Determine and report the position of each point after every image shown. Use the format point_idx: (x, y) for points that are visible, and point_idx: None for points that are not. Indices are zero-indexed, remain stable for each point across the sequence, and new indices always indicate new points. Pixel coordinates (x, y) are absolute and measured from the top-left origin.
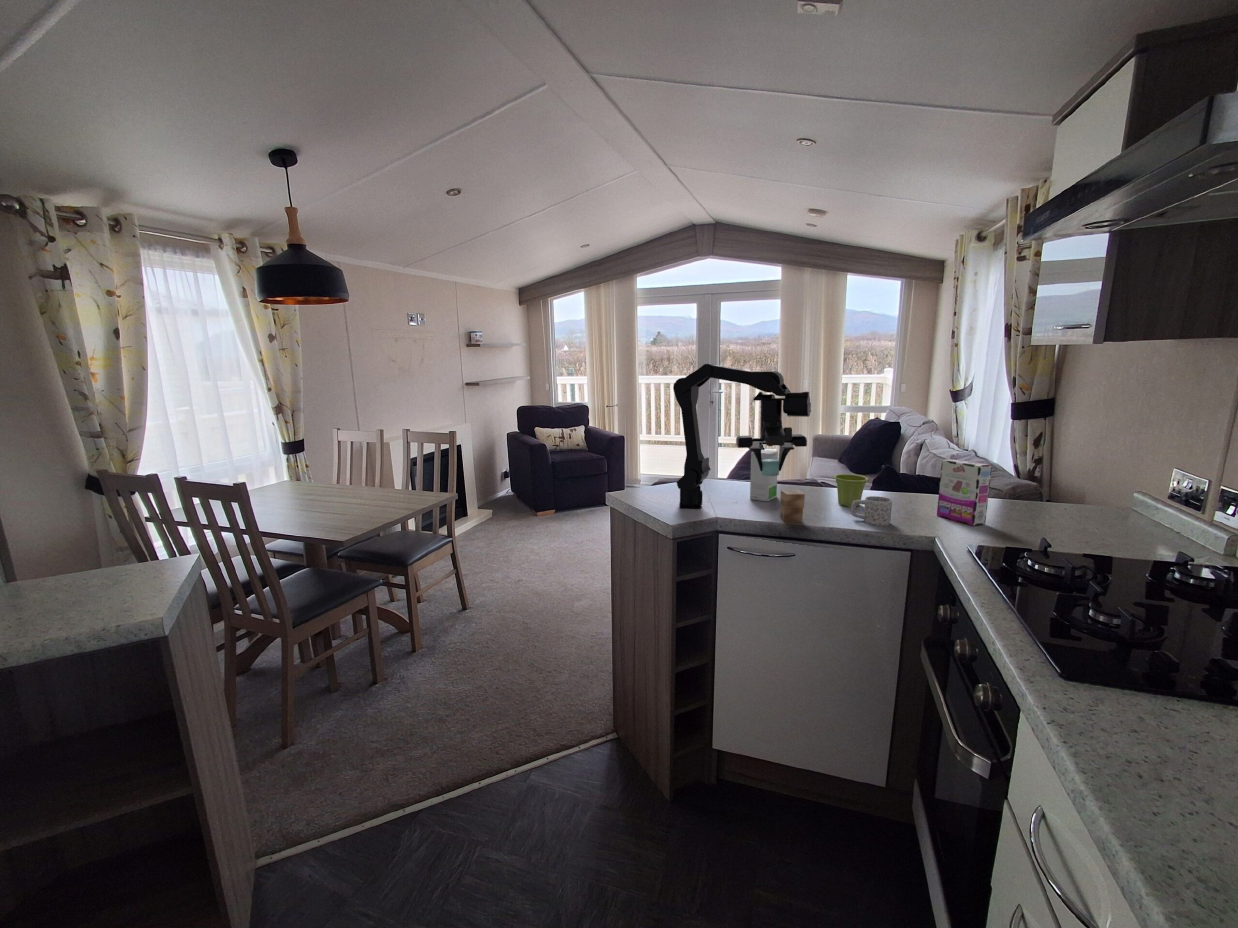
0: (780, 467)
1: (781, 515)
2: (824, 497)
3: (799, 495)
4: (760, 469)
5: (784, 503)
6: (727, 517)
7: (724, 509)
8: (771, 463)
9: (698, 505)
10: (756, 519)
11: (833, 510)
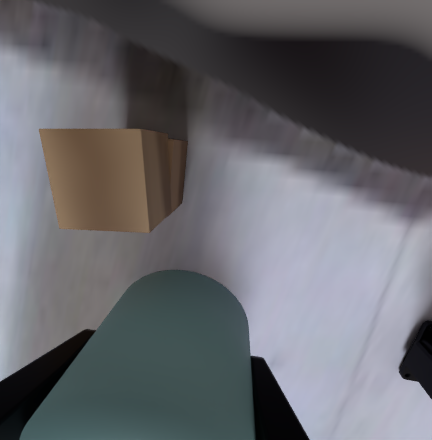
0: (65, 352)
1: (181, 186)
2: (17, 365)
3: (72, 129)
4: (269, 370)
5: (163, 159)
6: (372, 211)
7: (341, 302)
8: (150, 378)
9: (430, 338)
10: (274, 177)
11: (9, 250)
